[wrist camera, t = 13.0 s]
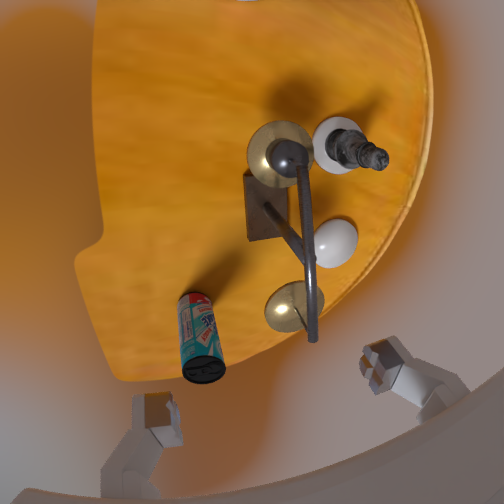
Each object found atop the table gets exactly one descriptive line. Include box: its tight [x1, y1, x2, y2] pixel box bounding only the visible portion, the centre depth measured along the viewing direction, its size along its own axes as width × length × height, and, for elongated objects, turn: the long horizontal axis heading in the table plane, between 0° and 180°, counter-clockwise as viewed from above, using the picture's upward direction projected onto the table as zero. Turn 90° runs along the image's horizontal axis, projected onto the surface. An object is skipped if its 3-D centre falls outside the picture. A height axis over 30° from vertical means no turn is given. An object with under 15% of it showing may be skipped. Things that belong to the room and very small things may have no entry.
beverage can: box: [177, 292, 226, 384], centre depth 44 cm, size 6×6×15 cm
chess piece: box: [325, 128, 389, 171], centre depth 37 cm, size 6×6×12 cm
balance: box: [243, 120, 324, 343], centre depth 36 cm, size 26×8×20 cm, turn 3°
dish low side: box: [312, 117, 362, 174], centre depth 42 cm, size 9×9×1 cm
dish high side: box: [314, 219, 358, 268], centre depth 51 cm, size 9×9×1 cm
